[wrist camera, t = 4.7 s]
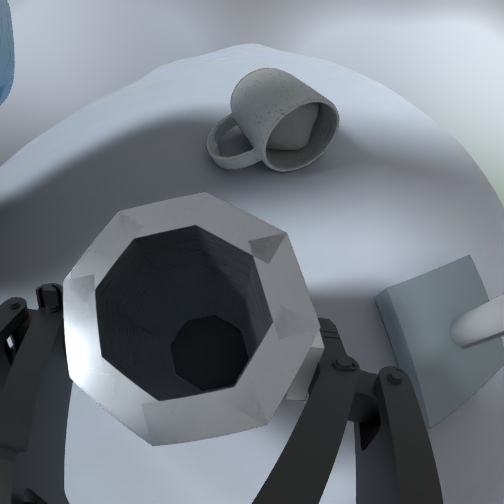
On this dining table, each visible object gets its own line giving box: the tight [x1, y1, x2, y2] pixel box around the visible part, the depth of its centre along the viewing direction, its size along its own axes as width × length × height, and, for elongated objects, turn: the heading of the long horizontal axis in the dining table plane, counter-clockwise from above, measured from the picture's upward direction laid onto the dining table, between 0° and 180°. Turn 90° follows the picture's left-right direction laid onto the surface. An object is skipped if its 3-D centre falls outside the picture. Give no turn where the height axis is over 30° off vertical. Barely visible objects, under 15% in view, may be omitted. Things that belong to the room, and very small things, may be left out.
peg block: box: [374, 255, 504, 428], centre depth 15 cm, size 11×11×8 cm
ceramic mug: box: [206, 68, 339, 172], centre depth 22 cm, size 11×8×8 cm
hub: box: [63, 192, 320, 446], centre depth 12 cm, size 7×7×11 cm
